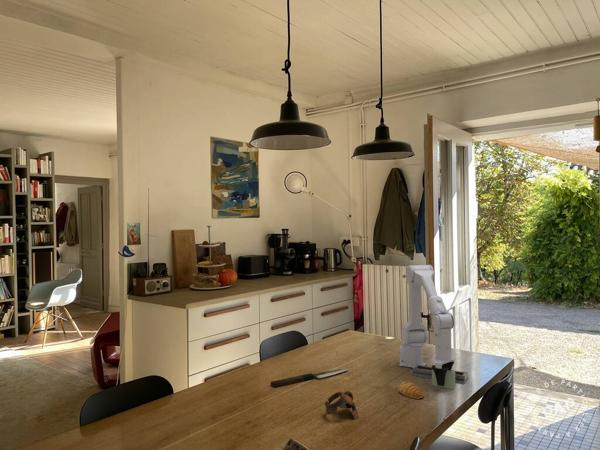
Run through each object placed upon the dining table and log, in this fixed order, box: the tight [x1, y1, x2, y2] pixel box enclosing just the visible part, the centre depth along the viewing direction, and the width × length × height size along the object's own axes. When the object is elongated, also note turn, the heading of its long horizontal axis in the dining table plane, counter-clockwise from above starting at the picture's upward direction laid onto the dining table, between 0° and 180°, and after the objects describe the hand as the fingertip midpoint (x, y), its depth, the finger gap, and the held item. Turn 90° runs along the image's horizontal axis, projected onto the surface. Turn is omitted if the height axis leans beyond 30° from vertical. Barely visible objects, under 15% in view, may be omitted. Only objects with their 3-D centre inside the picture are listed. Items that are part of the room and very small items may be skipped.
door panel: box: [431, 369, 456, 390], centre depth 170 cm, size 8×2×6 cm, turn 58°
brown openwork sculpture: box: [324, 390, 359, 420], centre depth 146 cm, size 12×10×8 cm
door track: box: [411, 365, 469, 385], centre depth 180 cm, size 20×8×2 cm, turn 58°
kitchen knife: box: [270, 368, 350, 389], centre depth 180 cm, size 36×2×5 cm
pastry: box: [398, 380, 425, 400], centre depth 162 cm, size 9×7×4 cm
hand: (443, 382), depth 170 cm, fingers open, 7 cm apart
